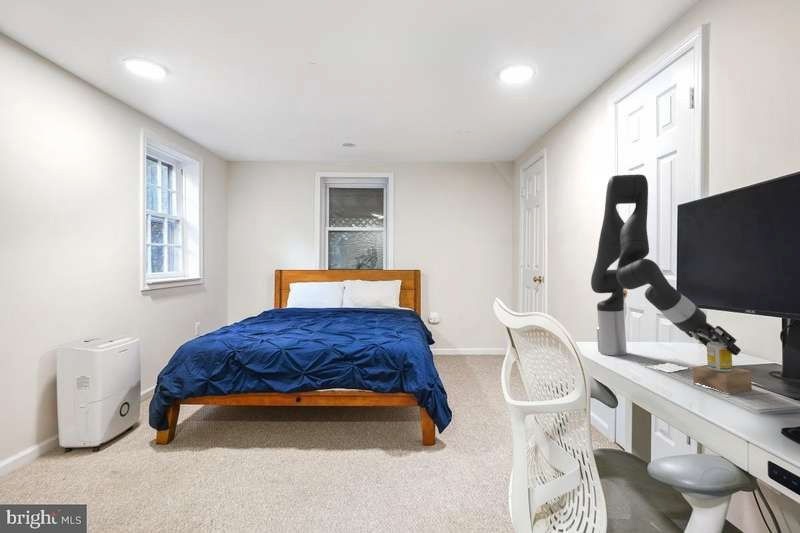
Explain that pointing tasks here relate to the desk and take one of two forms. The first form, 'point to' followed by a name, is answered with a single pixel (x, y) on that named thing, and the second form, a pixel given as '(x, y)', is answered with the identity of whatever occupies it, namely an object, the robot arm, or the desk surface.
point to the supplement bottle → (718, 357)
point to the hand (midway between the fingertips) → (724, 349)
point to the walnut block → (723, 379)
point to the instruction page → (650, 367)
